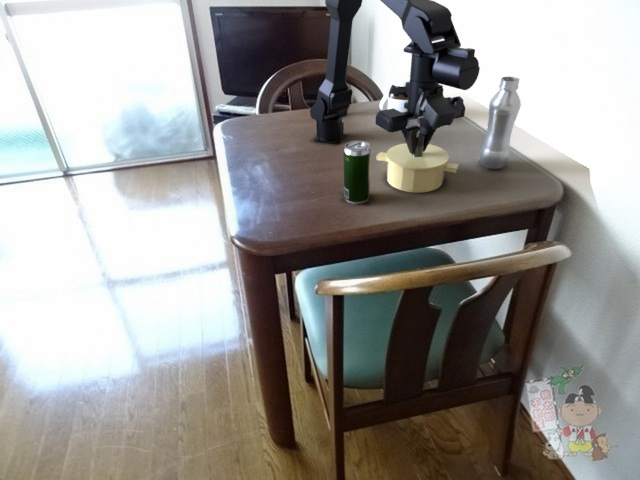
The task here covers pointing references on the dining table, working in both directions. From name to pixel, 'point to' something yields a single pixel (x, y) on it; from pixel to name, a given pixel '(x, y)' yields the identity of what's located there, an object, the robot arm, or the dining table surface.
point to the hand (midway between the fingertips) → (417, 152)
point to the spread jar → (396, 94)
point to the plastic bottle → (500, 124)
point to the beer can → (357, 171)
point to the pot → (416, 176)
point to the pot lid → (417, 156)
